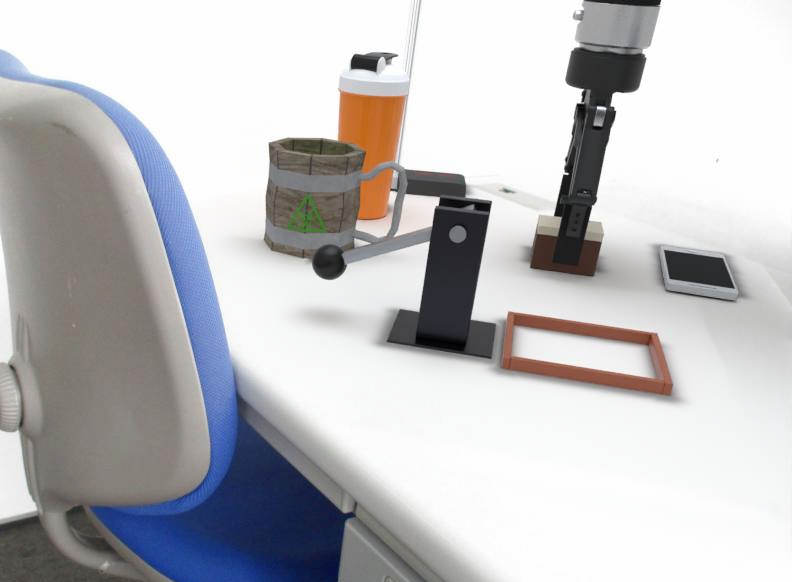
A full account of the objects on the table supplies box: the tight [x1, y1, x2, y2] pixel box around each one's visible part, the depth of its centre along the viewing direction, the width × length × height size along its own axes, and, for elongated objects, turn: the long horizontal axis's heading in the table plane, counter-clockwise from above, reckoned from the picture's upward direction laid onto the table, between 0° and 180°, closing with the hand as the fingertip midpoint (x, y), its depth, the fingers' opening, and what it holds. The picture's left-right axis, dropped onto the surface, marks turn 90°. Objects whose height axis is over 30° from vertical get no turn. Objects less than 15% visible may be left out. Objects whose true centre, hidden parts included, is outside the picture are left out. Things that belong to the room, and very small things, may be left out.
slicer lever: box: [311, 204, 476, 281], centre depth 76 cm, size 15×3×3 cm, turn 72°
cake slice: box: [529, 214, 605, 277], centre depth 100 cm, size 7×5×5 cm
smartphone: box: [658, 245, 739, 301], centre depth 100 cm, size 7×16×1 cm, turn 160°
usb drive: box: [391, 168, 467, 198], centre depth 130 cm, size 5×12×3 cm, turn 80°
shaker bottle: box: [337, 51, 411, 220], centre depth 113 cm, size 9×9×20 cm
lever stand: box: [386, 195, 497, 360], centre depth 76 cm, size 9×8×13 cm
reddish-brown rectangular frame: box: [500, 311, 674, 396], centre depth 76 cm, size 13×11×2 cm
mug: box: [263, 137, 408, 259], centre depth 98 cm, size 16×11×12 cm
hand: (563, 245), depth 101 cm, fingers open, 13 cm apart
